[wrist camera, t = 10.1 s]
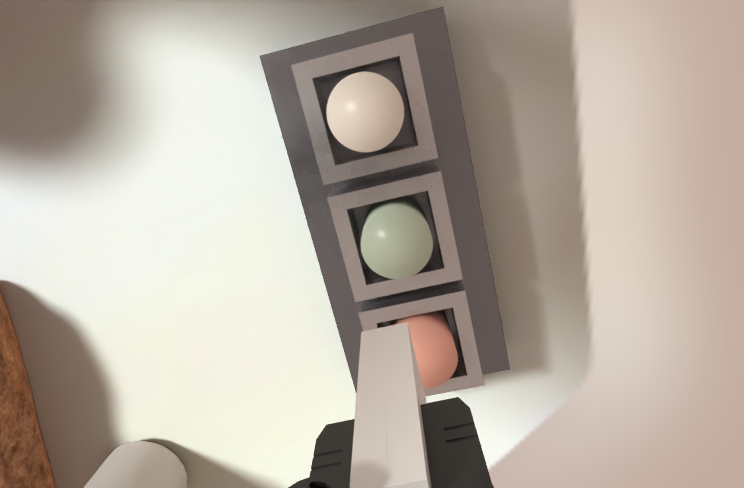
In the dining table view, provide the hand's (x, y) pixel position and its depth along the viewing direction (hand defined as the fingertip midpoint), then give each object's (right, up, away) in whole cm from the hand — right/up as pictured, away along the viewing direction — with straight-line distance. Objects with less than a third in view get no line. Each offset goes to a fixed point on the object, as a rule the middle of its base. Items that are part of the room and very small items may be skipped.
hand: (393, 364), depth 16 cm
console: (+1, +6, +21) cm, 22 cm away
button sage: (+1, +5, +18) cm, 19 cm away
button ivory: (-1, +13, +16) cm, 20 cm away
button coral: (+3, -2, +20) cm, 21 cm away
